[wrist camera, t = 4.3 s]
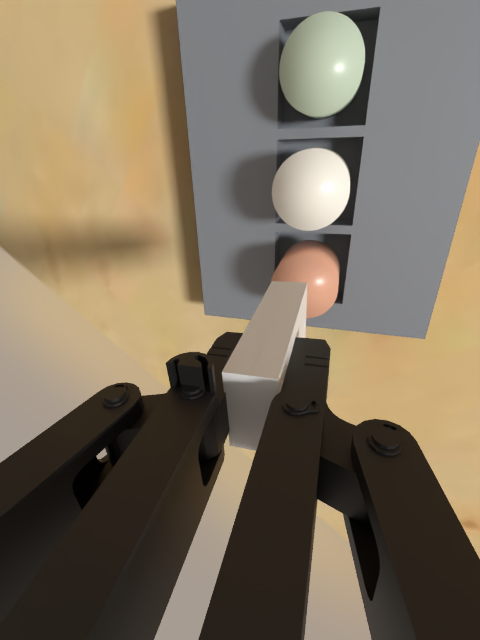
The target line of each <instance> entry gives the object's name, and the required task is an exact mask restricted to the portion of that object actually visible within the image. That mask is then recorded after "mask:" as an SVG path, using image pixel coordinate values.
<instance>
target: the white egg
mask: <svg viewBox="0 0 480 640" xmlns="http://www.w3.org/2000/svg"><path fill="white" fill-rule="evenodd" d="M349 194H350V173H349V169H348V166H347V164H346V162H345V161H344V159H343V158H342V157H341V156H340V155H339V154H338V153H337V152H335V151H333V150H331V149H328V148H324V147H314V148H310V149H306V150H302V151H299V152H297V153H295V154H293V155H292V156H290V157H289V158H288V159H286V160H285V161H284V162H283V164H282V165H281V166H280V168H279V169H278V171H277V173H276V175H275V177H274V180H273V185H272V200H273V204H274V207H275V209H276V212H277V213H278V215H279V216H280V217H281V219H282V220H283V221H284V222H285V223H287V224H288V225H290V226H291V227H293V228H296V229H299V230H305V231H313V230H318V229H321V228H324V227H326V226H328V225H329V224H331V223H332V222H334V221H335V220H336V219H337V218H338V217H339V216H340V214H341V213H342V212H343V210H344V209H345V207H346V204H347V202H348V199H349Z"/></svg>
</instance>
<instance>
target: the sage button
mask: <svg viewBox="0 0 480 640" xmlns="http://www.w3.org/2000/svg"><path fill="white" fill-rule="evenodd" d="M364 64H365V47H364V41H363V38H362V35H361V33H360V31H359V29H358V27H357V26H356V24H355V23H354V22H353V21H352V20H351V19H350V18H348V17H347V16H345V15H343V14H341V13H338V12H333V11H324V12H319V13H316V14H314V15H312V16H310V17H308V18H306V19H305V20H304V21H302V22H301V23H300V24H299V25H298V26H297V27H296V28H295V29H294V31H293V32H292V33H291V35H290V36H289V38H288V40H287V42H286V44H285V46H284V49H283V51H282V55H281V59H280V66H279V78H280V84H281V88H282V91H283V93H284V95H285V97H286V99H287V101H288V102H289V103H290V104H291V105H292V106H293V107H294V108H295V109H296V110H298V111H299V112H301V113H303V114H305V115H307V116H309V117H311V118H315V119H327V118H331V117H333V116H336V115H337V114H339V113H341V112H342V111H343V110H345V109H346V108H347V107H348V106H349V104H350V103H351V102H352V101H353V99H354V98H355V96H356V94H357V92H358V90H359V87H360V84H361V80H362V75H363V70H364Z"/></svg>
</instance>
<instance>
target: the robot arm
mask: <svg viewBox="0 0 480 640" xmlns="http://www.w3.org/2000/svg"><path fill="white" fill-rule="evenodd" d="M306 308H307V283H304V282H281V281H272V282H271V284H270V286H269V287H268V289H267V291H266V293H265V295H264V296H263V298H262V300H261V302H260V304H259V306H258V307H257V309H256V311H255V313H254V315H253V316H252V318H251V320H250V322H249V324H248V325H247V327H246V329H245V331H244V333H234V332H226V333H224V334H223V335H221V336H220V337H218V338H217V339H216V341H215V342H214V344H213V345H212V347H211V348H210V350H209V351H208V353H207V355H206V354H204V353H200V352H188V353H183V354H179V355H177V356H175V357H173V358H171V359H170V360H169V361H168V362H166V366H167V371H168V376H169V381H170V386H171V388H170V389H169V390H168V392H167V393H165V394H157V395H147V396H141V393H140V390H139V387H137V386H136V385H134V384H131V383H117V384H114V385H111V386H108V387H106V388H104V389H103V390H101V391H99V392H98V393H96V394H95V395H93V396H92V397H91V398H89V399H88V400H87V401H85V402H84V403H82V404H81V405H80V406H78V407H77V408H76V409H74V410H73V411H71V412H70V413H69V414H67V415H66V416H65V417H63V418H62V419H60V420H59V421H58V422H56V423H55V424H53V425H52V426H51V427H50V428H48V429H47V430H45V431H44V432H42V433H41V434H40V435H38V436H37V437H36V438H34V439H33V440H31V441H30V442H29V443H27V444H26V445H25V446H23V447H22V448H20V449H19V450H18V451H16V452H15V453H14V454H12V455H11V456H9V457H8V458H7V459H5V460H4V461H2V462H1V463H0V640H154V638H155V635H156V633H157V630H158V627H159V625H160V622H161V620H162V617H163V615H164V612H165V610H166V607H167V604H168V602H169V599H170V597H171V594H172V592H173V589H174V587H175V584H176V581H177V579H178V576H179V573H180V571H181V569H182V566H183V564H184V561H185V558H186V556H187V553H188V551H189V548H190V546H191V543H192V541H193V538H194V535H195V533H196V530H197V528H198V525H199V523H200V520H201V517H202V515H203V512H204V510H205V507H206V505H207V502H208V500H209V497H210V494H211V492H212V489H213V486H214V484H215V482H216V479H217V476H218V474H219V471H220V469H221V466H222V463H223V461H224V443H225V440H226V438H227V435H228V433H229V442H230V445H231V446H235V447H240V448H245V449H251V450H256V453H255V457H254V460H253V463H252V467H251V470H250V473H249V476H248V480H247V483H246V486H245V489H244V493H243V496H242V499H241V502H240V506H239V509H238V512H237V515H236V519H235V522H234V525H233V528H232V532H231V535H230V538H229V542H228V545H227V548H226V551H225V555H224V558H223V561H222V564H221V568H220V571H219V574H218V578H217V581H216V584H215V587H214V591H213V594H212V597H211V600H210V604H209V607H208V610H207V614H206V617H205V620H204V624H203V627H202V630H201V633H200V637H199V640H304V635H305V624H306V614H307V603H308V593H309V582H310V572H311V561H312V550H313V540H314V529H315V519H316V509H317V499H319V500H320V501H322V502H324V503H326V504H327V505H329V506H331V507H333V508H334V509H336V510H338V511H340V512H341V513H343V516H344V521H345V525H346V529H347V534H348V538H349V542H350V547H351V551H352V556H353V560H354V564H355V568H356V573H357V577H358V581H359V586H360V590H361V594H362V599H363V603H364V608H365V612H366V617H367V621H368V625H369V630H370V634H371V638H372V640H480V559H479V557H478V555H477V553H476V552H475V550H474V548H473V546H472V544H471V542H470V540H469V538H468V537H467V535H466V533H465V531H464V529H463V527H462V525H461V523H460V522H459V520H458V518H457V516H456V514H455V512H454V510H453V509H452V507H451V505H450V503H449V501H448V499H447V497H446V495H445V494H444V492H443V490H442V488H441V486H440V484H439V482H438V480H437V479H436V477H435V475H434V473H433V471H432V469H431V467H430V465H429V464H428V462H427V460H426V458H425V456H424V454H423V452H422V451H421V449H420V447H419V445H418V443H417V441H416V440H415V439H414V437H413V436H412V435H411V434H410V432H408V431H407V430H405V429H404V428H402V427H401V426H400V425H397V424H395V423H392V422H390V421H387V420H378V419H373V420H367V421H364V422H362V423H360V424H359V425H357V426H355V425H353V424H350V423H348V422H346V421H344V420H342V419H340V418H338V417H337V416H336V415H334V414H333V413H332V411H331V410H330V409H329V408H328V405H327V403H326V399H327V388H328V375H329V362H330V347H329V345H328V344H327V342H326V341H325V340H321V339H310V338H306ZM104 448H105V449H106V452H107V455H106V456H105V457H103V458H102V459H97V457H96V455H98V454H99V453H100V452H101V451H102V450H103V449H104Z"/></svg>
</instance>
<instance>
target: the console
mask: <svg viewBox="0 0 480 640" xmlns="http://www.w3.org/2000/svg"><path fill="white" fill-rule="evenodd" d="M176 9H177V20H178V31H179V41H180V52H181V63H182V74H183V85H184V95H185V106H186V117H187V128H188V139H189V149H190V160H191V171H192V182H193V193H194V203H195V214H196V225H197V236H198V247H199V257H200V268H201V279H202V290H203V301H204V311H205V315H211V316H220V317H229V318H238V319H247V320H251V318H252V316H253V315H254V313H255V311H256V309H257V307H258V306H259V304H260V302H261V300H262V298H263V296H264V295H265V293H266V291H267V289H268V287H269V286H270V284H271V279H272V276H273V274H274V272H275V270H276V269H277V267H278V265H279V263H280V261H281V260H282V258H283V256H284V254H285V253H286V251H287V250H288V249H289V248H290V247H291V246H293V245H294V244H296V243H298V242H301V241H304V240H316V241H320V242H323V243H325V244H327V245H328V246H329V247H331V248H332V249H333V251H334V252H335V253H336V255H337V257H338V259H339V264H340V272H339V285H338V294H337V298H336V300H335V302H334V304H333V305H332V307H331V308H330V309H329V310H328V311H326V312H325V313H323V314H322V315H320V316H317V317H314V318H306V326H311V327H320V328H329V329H338V330H347V331H356V332H365V333H374V334H383V335H393V336H402V337H411V338H420V339H425V337H426V334H427V330H428V326H429V323H430V319H431V315H432V312H433V308H434V305H435V301H436V297H437V294H438V290H439V286H440V283H441V279H442V275H443V272H444V268H445V265H446V261H447V257H448V254H449V250H450V246H451V243H452V239H453V236H454V232H455V228H456V225H457V221H458V217H459V214H460V210H461V207H462V203H463V199H464V196H465V192H466V188H467V185H468V181H469V178H470V174H471V170H472V167H473V163H474V159H475V156H476V152H477V148H478V145H479V141H480V0H176ZM324 11H333V12H338V13H341V14H343V15H345V16H347V17H348V18H350V19H351V20H352V21H353V22H354V23H355V24H356V26H357V27H358V29H359V31H360V33H361V35H362V38H363V41H364V47H365V64H364V70H363V75H362V80H361V84H360V87H359V90H358V92H357V94H356V96H355V98H354V99H353V101H352V102H351V103H350V104H349V106H348V107H347V108H346V109H345V110H343V111H342V112H341V113H339V114H337V115H336V116H333V117H331V118H327V119H315V118H311V117H309V116H307V115H305V114H303V113H301V112H299V111H298V110H296V109H295V108H294V107H293V106H292V105H291V104H290V103H289V102H288V101H287V99H286V97H285V95H284V93H283V91H282V88H281V84H280V78H279V66H280V59H281V55H282V51H283V49H284V46H285V44H286V42H287V40H288V38H289V36H290V35H291V33H292V32H293V31H294V29H295V28H296V27H297V26H298V25H299V24H300V23H301V22H302V21H304V20H305V19H306V18H308V17H310V16H312V15H314V14H316V13H319V12H324ZM314 147H324V148H328V149H331V150H333V151H335V152H337V153H338V154H339V155H340V156H341V157H342V158H343V159H344V161H345V162H346V164H347V166H348V169H349V173H350V194H349V199H348V202H347V204H346V207H345V209H344V210H343V212H342V213H341V214H340V216H339V217H338V218H337V219H336V220H335V221H334V222H332V223H331V224H329V225H328V226H326V227H324V228H321V229H318V230H313V231H305V230H299V229H296V228H293V227H291V226H290V225H288V224H287V223H285V222H284V221H283V220H282V219H281V217H280V216H279V215H278V213H277V212H276V209H275V207H274V204H273V200H272V185H273V180H274V177H275V175H276V173H277V171H278V169H279V168H280V166H281V165H282V164H283V162H284V161H285V160H286V159H288V158H289V157H290V156H292V155H293V154H295V153H297V152H299V151H302V150H306V149H310V148H314Z"/></svg>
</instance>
